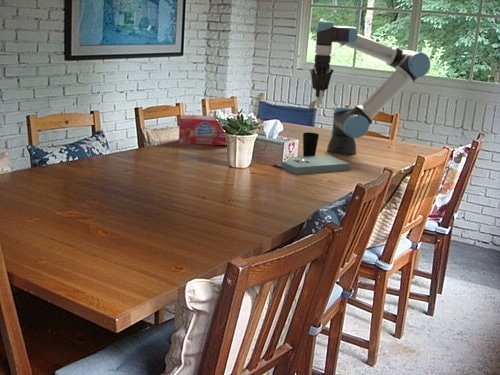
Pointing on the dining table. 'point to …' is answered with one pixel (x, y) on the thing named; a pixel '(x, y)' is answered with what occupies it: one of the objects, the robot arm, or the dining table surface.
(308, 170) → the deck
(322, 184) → the dining table surface
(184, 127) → the box
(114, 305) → the dining table surface
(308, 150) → the cup
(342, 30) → the robot arm
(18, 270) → the dining table surface
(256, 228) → the dining table surface
